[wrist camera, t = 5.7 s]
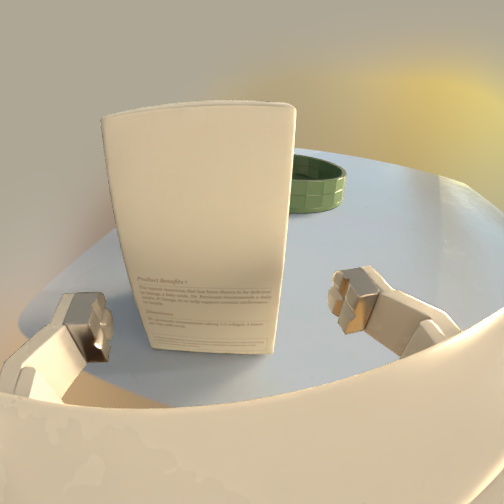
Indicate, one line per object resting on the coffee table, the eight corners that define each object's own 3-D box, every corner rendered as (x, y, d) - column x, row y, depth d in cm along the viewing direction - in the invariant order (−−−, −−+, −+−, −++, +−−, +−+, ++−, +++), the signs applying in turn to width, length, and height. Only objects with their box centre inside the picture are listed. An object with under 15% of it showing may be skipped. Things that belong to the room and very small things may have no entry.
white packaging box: (269, 279, 21) (280, 102, 14) (273, 358, 14) (301, 102, 8) (173, 275, 21) (158, 104, 14) (146, 349, 14) (95, 113, 8)
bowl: (220, 212, 32) (220, 179, 29) (227, 173, 46) (227, 151, 44) (360, 216, 32) (366, 186, 30) (324, 177, 47) (326, 156, 45)
